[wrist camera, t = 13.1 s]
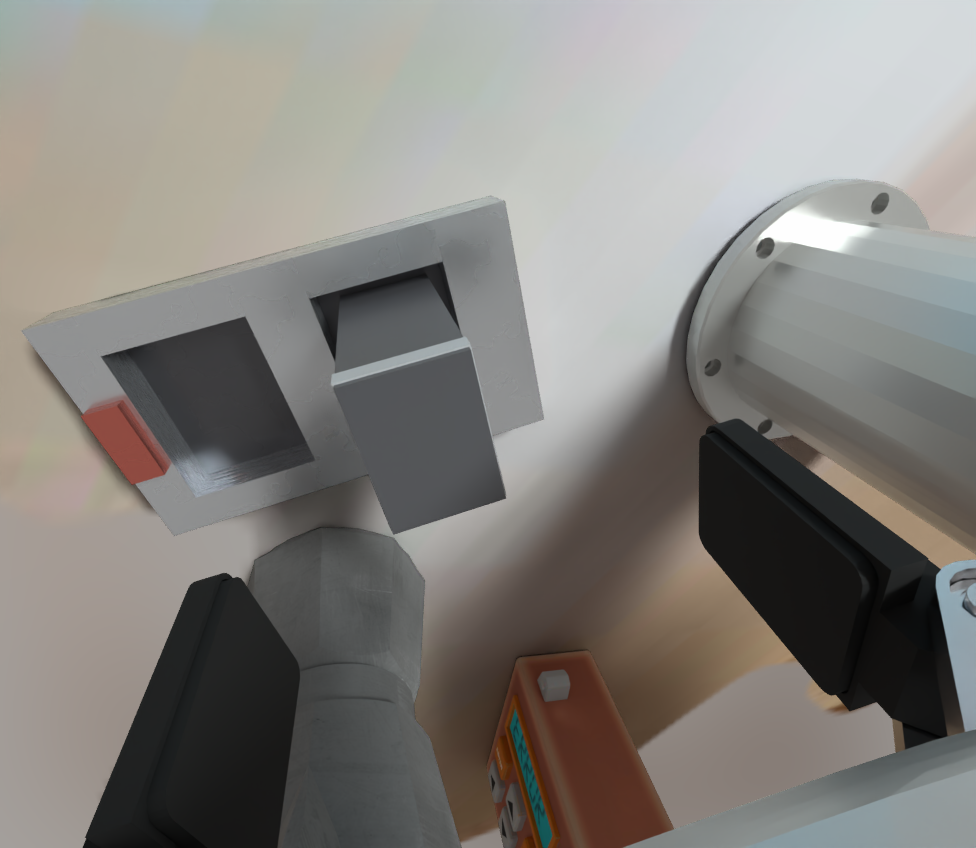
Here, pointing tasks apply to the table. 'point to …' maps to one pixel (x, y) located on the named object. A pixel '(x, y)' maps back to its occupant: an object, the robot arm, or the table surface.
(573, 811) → the control panel
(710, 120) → the table surface
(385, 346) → the plug
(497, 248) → the power strip
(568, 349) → the table surface
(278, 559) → the coffeepot
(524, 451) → the table surface
